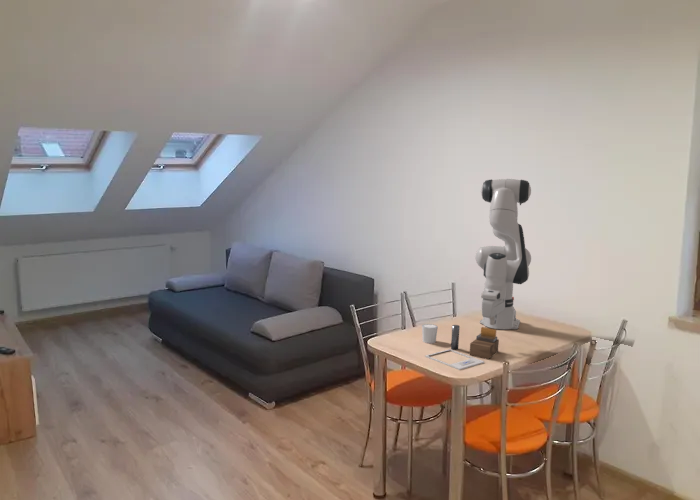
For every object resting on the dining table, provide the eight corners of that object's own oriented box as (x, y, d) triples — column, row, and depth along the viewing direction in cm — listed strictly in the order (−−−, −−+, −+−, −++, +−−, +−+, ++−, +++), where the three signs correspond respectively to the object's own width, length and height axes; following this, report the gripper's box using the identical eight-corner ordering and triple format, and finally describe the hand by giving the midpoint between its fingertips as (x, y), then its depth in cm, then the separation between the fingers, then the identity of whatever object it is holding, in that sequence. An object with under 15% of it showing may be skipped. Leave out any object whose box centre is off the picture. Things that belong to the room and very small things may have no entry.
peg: (452, 347, 234) (453, 324, 233) (459, 348, 232) (460, 325, 231) (449, 349, 232) (451, 326, 230) (456, 350, 230) (458, 327, 229)
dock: (479, 347, 235) (480, 336, 234) (498, 351, 230) (498, 339, 230) (469, 355, 224) (470, 343, 224) (488, 359, 220) (489, 347, 220)
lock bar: (480, 336, 233) (480, 326, 232) (497, 339, 229) (497, 329, 228) (476, 339, 229) (476, 329, 228) (493, 342, 225) (494, 332, 224)
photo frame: (459, 368, 207) (425, 355, 221) (459, 371, 207) (424, 357, 221) (484, 361, 216) (449, 348, 230) (484, 363, 216) (449, 351, 230)
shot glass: (437, 340, 244) (438, 324, 243) (436, 344, 237) (436, 328, 236) (422, 338, 246) (423, 323, 245) (420, 342, 239) (420, 327, 238)
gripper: (495, 287, 243) (493, 318, 244) (479, 294, 225) (477, 327, 227) (509, 289, 239) (507, 320, 241) (495, 296, 222) (492, 330, 224)
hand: (493, 324), depth 234 cm, fingers closed
